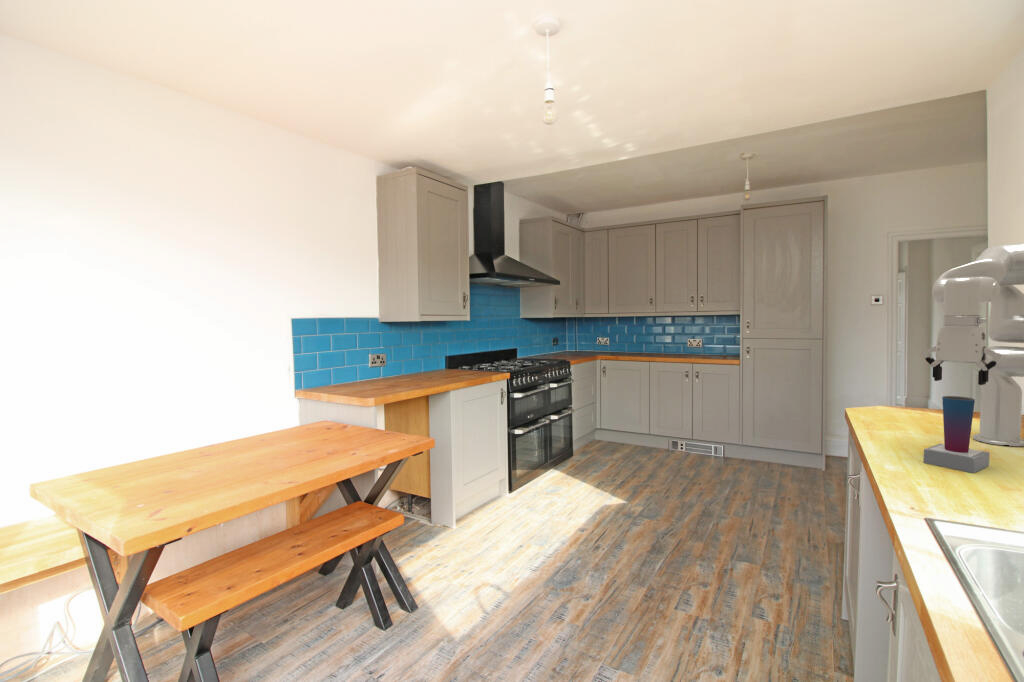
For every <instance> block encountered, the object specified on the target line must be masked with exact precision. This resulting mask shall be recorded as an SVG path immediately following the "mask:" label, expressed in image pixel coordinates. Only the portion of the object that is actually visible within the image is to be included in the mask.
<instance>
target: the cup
mask: <svg viewBox="0 0 1024 682" xmlns="http://www.w3.org/2000/svg"><path fill="white" fill-rule="evenodd" d="M975 402H976V400H975V398H972V397H967V396H958V395H945V396H942V416H943V417H942V419H943V422H942V423H943V441H944V443H943V444H945V449H946V450H949V451H953V452H961V453H966V452H968V451H969V449H970V440H971V434H972V426H973V425H972V424H973V417H974V410H975Z"/></svg>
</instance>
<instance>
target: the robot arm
mask: <svg viewBox="0 0 1024 682" xmlns="http://www.w3.org/2000/svg"><path fill="white" fill-rule="evenodd" d="M1018 285H1019V286H1022V285H1024V242H1016V243H1005V244H1004V243H1003V244H997V245H992V246H989V247H988V248H986V249H984V250H983V251H982V252H981V253H980V254H979V255H978V257H977V258H976V259H975V260H974V261H972V262H969V263H965V264H963V265H960V266H957V267H955V268H954V267H953V268H951V269H949V270H946V271H945V272H943V273H942V274H941V275H939V277H938V278H937V279H936V281H935V282H934V284H933V286H932V291H931V295H932V297H933V299H934V301H936V302H937V303H939V304H943V325H942V326H940V327H939V331H938V334H937V339H936V346H933V347H931V348H927V349H925V350H922V351H921V355H922V357H923V358H924V359H925V361H926V362H927V363H928V364H929V365H930V366H931V367H932V378H933V380H934V382H940V381H942V380H943V366H942V364H943V363H944V362H949V363H962V364H963V363H966V364H976V366H978V368H979V371H978V375H977V376H978V377H977V379H978V382H977V383H978V386H981V387H980V388H981V389H980V390H981V391H980V411H979V412H980V413H979V415H980V416H979V433H975V434H973V435H972V439H974V440H976V441H977V442H980V441H981V443H985V444H990V445H996V446H997V445H998V446H1003V445H1009V446H1008V447H1024V439H1023V438H1021V430H1022V429H1021V428H1022V408H1023V407H1022V406H1023V390H1022V388H1021V386H1020V384H1019V383H1018V382H1017V381H1016V380H1015V379H1014V378H1013V377H1015V378H1016V377H1019V378H1024V346H1022V347H1021V346H1009V345H1008V346H1005V345H1004V346H1003V345H1000V346H999V345H997V346H987V336H986V332H985V330H986V329H985V327H984V326H981V324H986V323H987V321H988V328H987V329H988V331H987V334H988V337H989V339H990V340H992V341H993V342H999V343H1009V344H1024V293H1023V292H1022V291H1021V290H1020V289H1019V288H1017V287H1016V286H1018ZM986 303H990V309H989V317H988V319H987V318H986V317H982V316H981V304H986ZM934 352H935V358H936V359H934V358H933V357H932V355H931V354H932V353H934Z"/></svg>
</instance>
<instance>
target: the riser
mask: <svg viewBox="0 0 1024 682" xmlns="http://www.w3.org/2000/svg"><path fill="white" fill-rule="evenodd" d="M922 462H923V464H927V465H931V466H935V467H942V468H947V469H951V470H955V471H961V472H965V473H970V474H975V473H977V472H979V471H982V470H984V469H986V468H988V467H989V466H990V452H989V451H984V450H983V451H982V450H979V449H973V448H969V451H968V452H966V453H961V452H953V451H949V450H946V449H945V444H944V443H938V444H935V445H931V446H929V447H926V448H924V449H923V461H922Z"/></svg>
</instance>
